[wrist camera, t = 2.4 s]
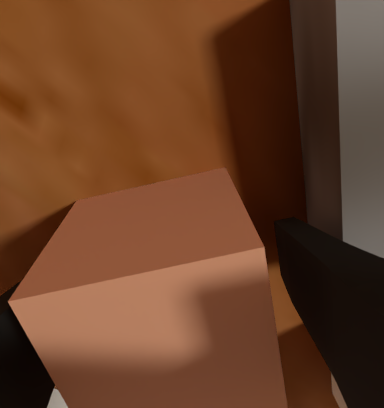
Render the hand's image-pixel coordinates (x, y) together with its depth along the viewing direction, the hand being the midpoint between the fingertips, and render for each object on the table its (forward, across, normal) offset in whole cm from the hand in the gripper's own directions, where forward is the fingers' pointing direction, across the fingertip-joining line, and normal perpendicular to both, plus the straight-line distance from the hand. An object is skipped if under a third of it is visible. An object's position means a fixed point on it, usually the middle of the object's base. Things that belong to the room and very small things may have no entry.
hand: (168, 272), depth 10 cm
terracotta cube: (+2, 0, 0) cm, 2 cm away
